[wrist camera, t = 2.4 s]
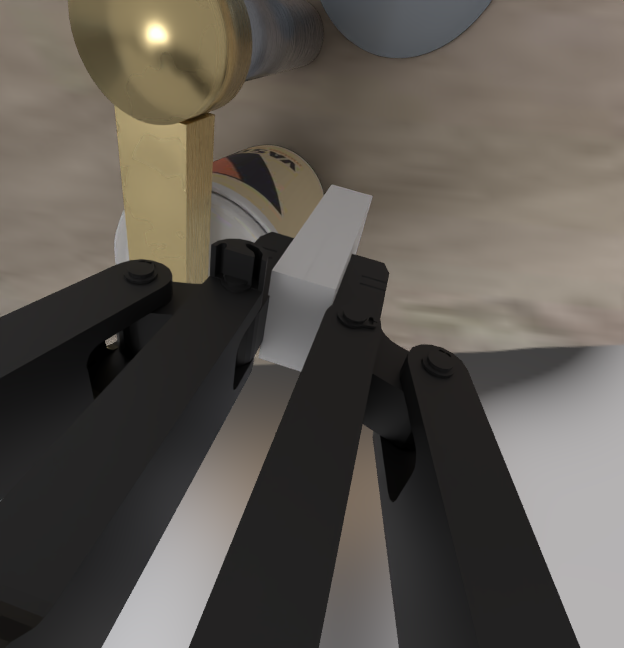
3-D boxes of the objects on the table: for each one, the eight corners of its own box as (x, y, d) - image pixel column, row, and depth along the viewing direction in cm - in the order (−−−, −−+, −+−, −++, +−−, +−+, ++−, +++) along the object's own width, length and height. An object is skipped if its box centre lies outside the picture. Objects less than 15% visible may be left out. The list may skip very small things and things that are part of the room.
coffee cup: (328, 122, 26) (264, 175, 16) (343, 259, 31) (301, 360, 21) (197, 138, 28) (75, 192, 19) (230, 261, 33) (148, 353, 24)
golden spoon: (150, 360, 23) (122, 392, 21) (119, -71, 12) (54, -92, 10) (224, 384, 22) (202, 419, 20) (259, -38, 12) (221, -52, 10)
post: (266, 59, 24) (150, 79, 15) (273, -8, 23) (144, -39, 13) (317, 73, 24) (234, 101, 14) (328, 5, 22) (242, -15, 12)
